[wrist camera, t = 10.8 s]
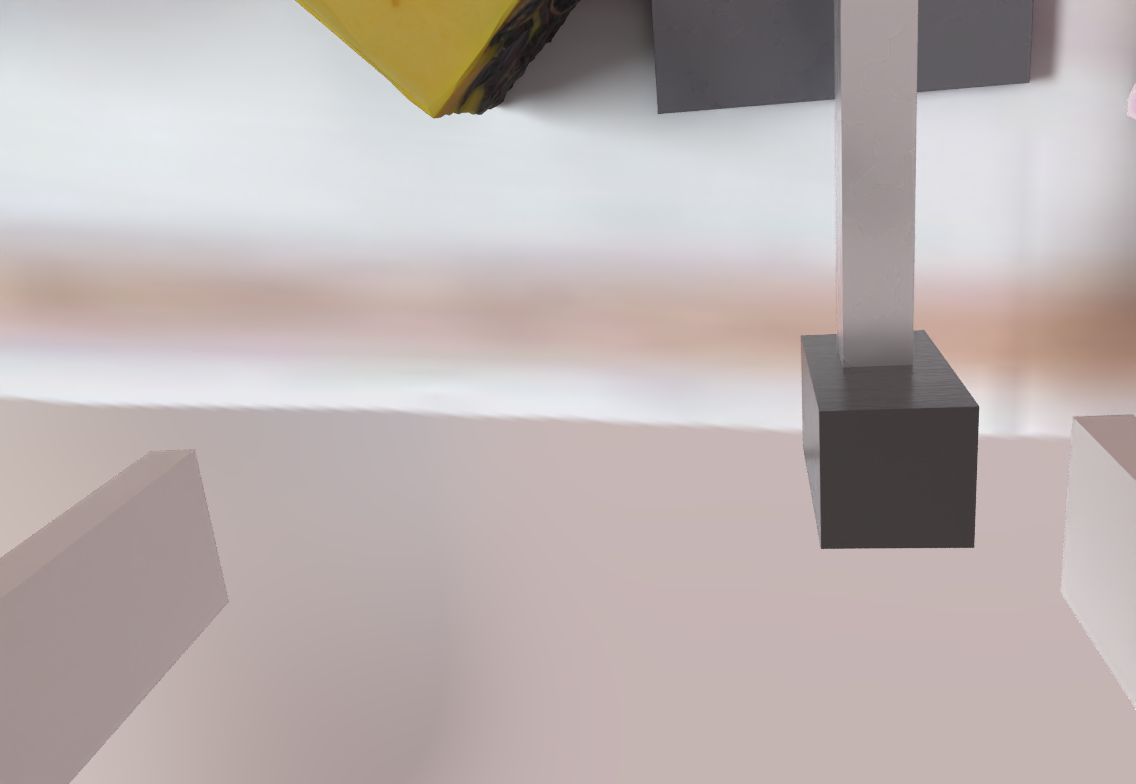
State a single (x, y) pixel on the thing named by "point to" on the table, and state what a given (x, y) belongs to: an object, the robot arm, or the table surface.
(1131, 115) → the lily
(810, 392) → the shaft
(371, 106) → the table surface
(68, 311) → the table surface
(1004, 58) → the shaft stand
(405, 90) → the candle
